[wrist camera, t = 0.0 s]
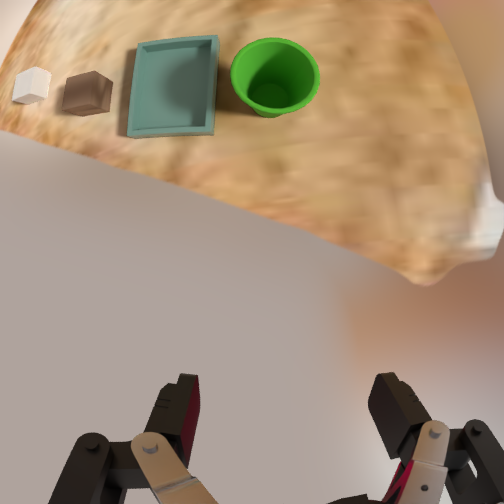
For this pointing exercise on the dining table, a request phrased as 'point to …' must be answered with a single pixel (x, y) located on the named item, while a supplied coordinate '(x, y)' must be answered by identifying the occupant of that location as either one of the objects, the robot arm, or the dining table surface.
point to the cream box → (31, 86)
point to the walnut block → (87, 94)
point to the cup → (274, 76)
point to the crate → (174, 87)
